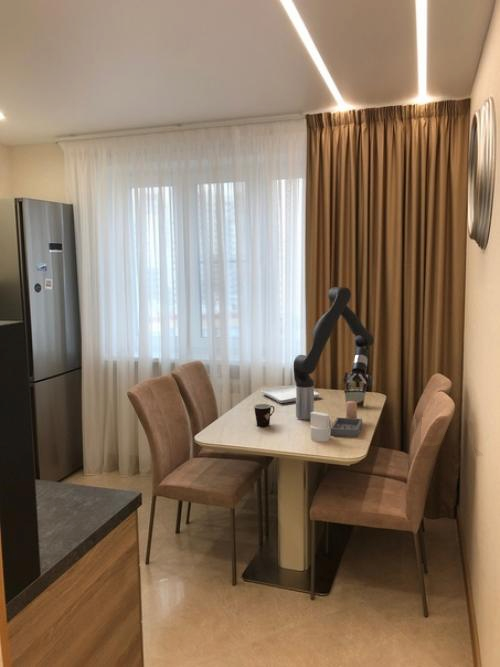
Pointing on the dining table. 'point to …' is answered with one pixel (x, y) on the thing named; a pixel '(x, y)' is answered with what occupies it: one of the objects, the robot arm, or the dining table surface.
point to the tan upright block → (351, 409)
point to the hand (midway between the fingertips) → (355, 390)
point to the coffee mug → (263, 414)
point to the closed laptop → (284, 393)
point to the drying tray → (346, 427)
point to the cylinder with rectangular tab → (319, 427)
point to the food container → (355, 395)
